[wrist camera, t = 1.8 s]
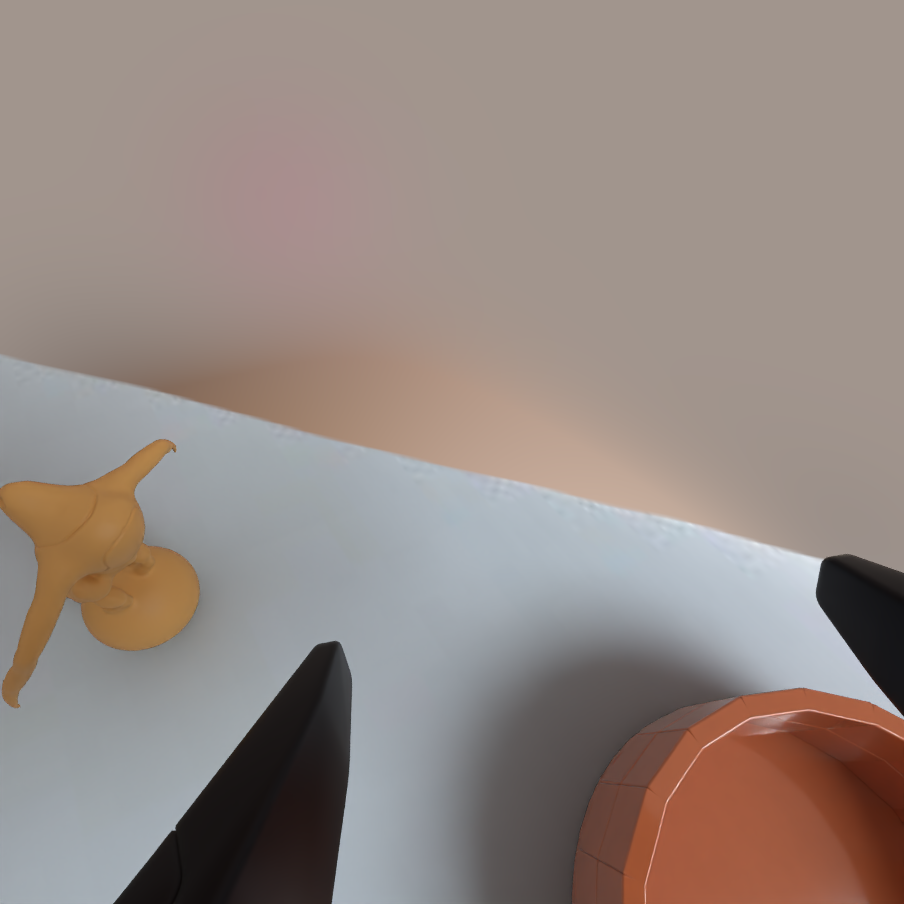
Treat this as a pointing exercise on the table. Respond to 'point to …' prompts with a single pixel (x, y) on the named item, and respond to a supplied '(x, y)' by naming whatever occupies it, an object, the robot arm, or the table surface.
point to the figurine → (98, 564)
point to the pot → (751, 806)
